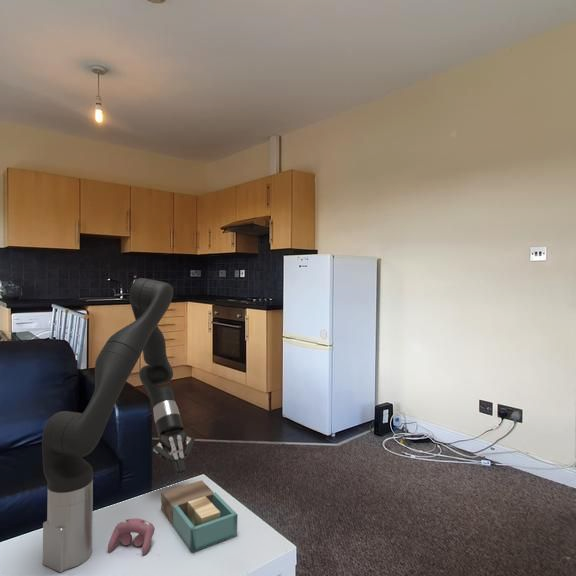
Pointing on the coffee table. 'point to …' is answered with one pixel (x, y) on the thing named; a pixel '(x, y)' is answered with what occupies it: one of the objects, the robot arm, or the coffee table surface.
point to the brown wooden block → (183, 497)
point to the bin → (206, 526)
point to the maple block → (202, 511)
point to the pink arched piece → (132, 526)
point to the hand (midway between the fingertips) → (181, 473)
